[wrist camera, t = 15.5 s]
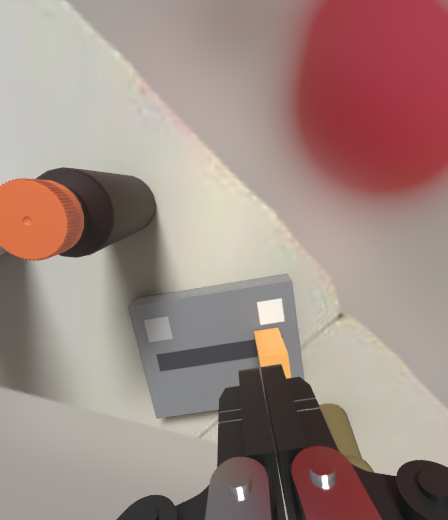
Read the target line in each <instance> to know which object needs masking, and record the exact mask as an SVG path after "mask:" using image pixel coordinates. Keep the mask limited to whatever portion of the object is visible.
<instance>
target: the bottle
mask: <svg viewBox="0 0 448 520" xmlns="http://www.w3.org/2000/svg"><path fill="white" fill-rule="evenodd" d="M2 185H3V186H0V247H3V249H5V250H6V252H7V251H8V252H9V254H10V253H11V254H12V255H15V256H16V257H19V258H22V259H26V260H28V259H29V261H31V260H33V261H34V260H36V261H38V260H44V259H47V258H50V257H52V256H55V255H57V254H59V255H61V256H66V257H76V258H77V257H82V256H86V255H91V254H93V253H95V252H97V251H99V250H101V249H103V248H105V247H107V246H109V245H111V244H113V243H115V242H117V241H119V240H121V239H123V238H125V237H127V236H129V235H131V234H133V233H135V232H137V231H139V230H141V229H142V228H144V227H146V226H147V225H148V223H149V222H150V221H151V220H152V217H153V215H154V212H155V200H154V196H153V193H152V192H151V190H150V188H149V187H148V186H147V185H146V184H145V183H144V182H143V181H142V180H140V179H138V178H136V177H133V176H128V175H120V174H112V173H105V172H97V171H89V170H82V169H73V168H58V169H53V170H49V171H47V172H45V173H44V174H42V175H41V176H39V177H38V178H36V179H15V180H12V181H8V182H5V184H2Z"/></svg>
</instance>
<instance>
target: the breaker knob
mask: <svg viewBox="0 0 448 520" xmlns="http://www.w3.org/2000/svg"><path fill="white" fill-rule="evenodd" d="M254 336H255V342H256V348H257V355H258V361H259V367H260V372H261V367H263V366H270V365H276V364H281V365H282V367H283V370H284V373H285V376H286V379H287V378H291V372H290V364H289V357H288V352H287V349H286V347H285V344H284V341H283V339H282V336H281V334H280V331H279V328H271V329H265V330H258V331H254ZM261 377H262V373H261ZM262 382H263V380H262ZM263 387H264V386H263Z"/></svg>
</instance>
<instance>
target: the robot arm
mask: <svg viewBox="0 0 448 520" xmlns="http://www.w3.org/2000/svg"><path fill="white" fill-rule="evenodd" d="M7 252H8V251H7ZM7 252H6V250H5V249H3V247H0V256H1V255H3V254H6V253H7ZM238 373H239V386H234V387H228V388H225V389H224V391H223V393H222V395H221V396H220V398H219V420H218V421H219V424H218V464H217V469H216V470H215V471H214V473H213V474H212V477H211V480H210V484H209V486H208V487H207V488H206V489H205V490H204V491H203V492H201V493H200V494H198V495H197V496H195V497H194V498H191V499H189V500H187V501H185V502H183V503H181V504H179V505H177V506H175V505H174V504H173V502H172V501H171V500H170V499H169V498H167V497H165V496H161V495H150V496H146V497H144V498H141V499H139V500H138V501H136V502H135V503H133V504H132V505H131V506H129V507H128V508H127V509H126V510H125V511H124V512H123V513H122V514H121V515H120V517H119V518H118V519H117V520H286V517H285V511H284V504H283V498H282V491H281V486H280V479H281V484H282V489H283V494H284V500H285V504H286V510H287V515H288V519H289V520H448V467H445V466H443V465H441V464H438V463H435V462H431V461H426V460H415V461H410V462H407V463H405V464H404V465H402V466H401V467H400V468H399V470H398V472H397V476H391V475H385V474H379V473H373V472H369V471H366V470H363V469H361V468H358V467H356V466H355V465H353V464H352V463H350V462H349V460H348V459H347V458H346V457H345V456H344V455H343V454H342V453H340V452H339V450H338V448H337V446H336V443H335V441H334V439H333V437H332V434H331V432H330V430H329V427H328V425H327V423H326V421H325V418H324V416H323V414H322V411H321V409H320V407H319V404H318V402H317V400H316V398H315V395H314V393H313V391H312V388H311V386H310V385H309V384H308V383H307V382H306V381H304V380H303V379H302V378H301V377H294V378H287V379H286V376H285V373H284V370H283V367H282V365H281V364H276V365H270V366H263V367H261V373H262V380H263V386H264V391H263V386H262V381H261V376H260V371H259V367H257V368H250V369H244V370H238ZM264 392H265V396H264ZM265 399H266V402H265ZM266 405H267V407H266ZM267 411H268V412H267ZM276 458H277V460H276ZM277 464H278V466H277ZM278 469H279V472H278ZM279 474H280V479H279Z"/></svg>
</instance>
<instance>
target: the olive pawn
mask: <svg viewBox="0 0 448 520" xmlns="http://www.w3.org/2000/svg"><path fill="white" fill-rule="evenodd" d="M319 407H320V409H321V411H322V414H323V416H324V418H325V421H326V423H327V425H328V427H329V430H330V432H331V434H332V437H333V439H334V441H335V443H336V446H337V448H338V450H339V452H340V453H342V454H343V455H344V456H345V457H346V458H347V459H348V460H349V462H350V463H352V464H353V465H355V466H356V467H358V468H361V469H363V470H366V471H369V472H373V473H374V471H373V469H372V468H371V467H370V465H369V464H368V463H367V462H366V461H365V460H363V459H362V457H361V454H360V451H359V448H358V445H357V442H356V440H355V437H354V434H353V431H352V428H351V425H350V422H349V419H348V417H347V414H346V412H345V411H344V410H343V409H342V408H341V407H339V406H338V405H334V404H323V405H319Z"/></svg>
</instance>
